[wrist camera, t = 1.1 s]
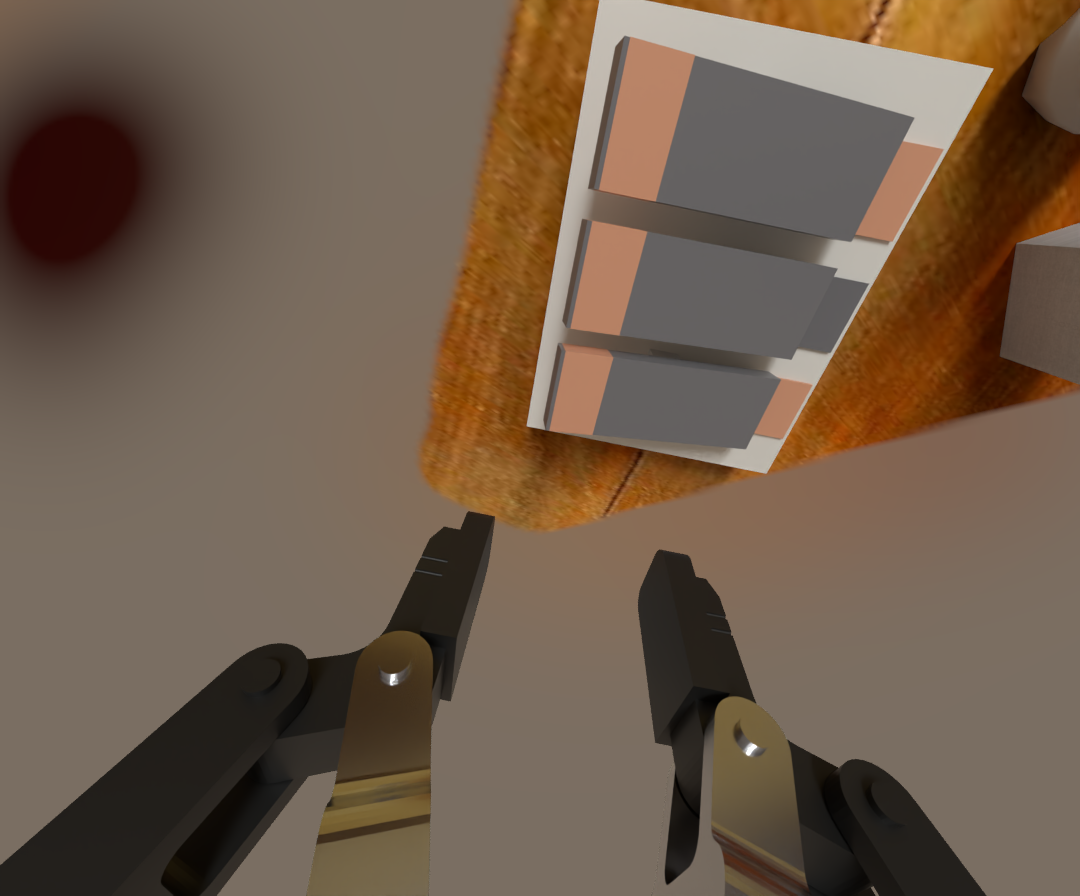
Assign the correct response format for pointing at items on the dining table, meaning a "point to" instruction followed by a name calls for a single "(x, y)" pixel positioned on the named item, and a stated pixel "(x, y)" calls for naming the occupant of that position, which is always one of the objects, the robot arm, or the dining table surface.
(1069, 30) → the salt shaker
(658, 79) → the switch
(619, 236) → the switch
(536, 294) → the dining table surface
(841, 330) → the switch box
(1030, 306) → the white gabled box
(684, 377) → the switch
